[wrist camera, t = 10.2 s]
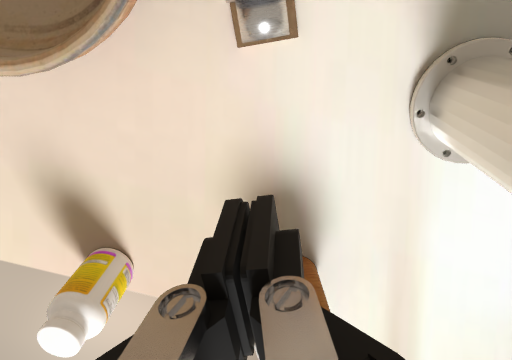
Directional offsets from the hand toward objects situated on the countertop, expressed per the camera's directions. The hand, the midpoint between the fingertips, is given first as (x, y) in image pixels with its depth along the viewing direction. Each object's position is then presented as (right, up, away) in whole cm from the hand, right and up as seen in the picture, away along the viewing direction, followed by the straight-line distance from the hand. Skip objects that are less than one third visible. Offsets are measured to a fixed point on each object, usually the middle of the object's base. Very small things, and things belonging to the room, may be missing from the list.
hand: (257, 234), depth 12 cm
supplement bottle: (-20, -10, +36) cm, 43 cm away
